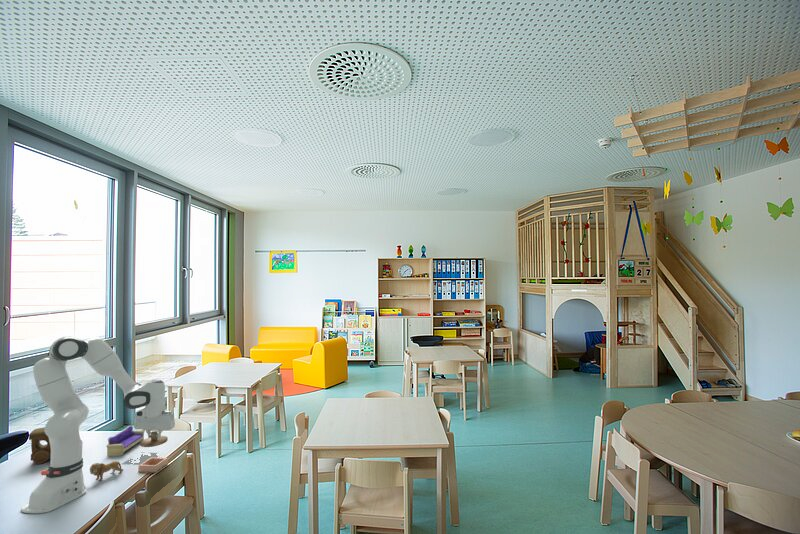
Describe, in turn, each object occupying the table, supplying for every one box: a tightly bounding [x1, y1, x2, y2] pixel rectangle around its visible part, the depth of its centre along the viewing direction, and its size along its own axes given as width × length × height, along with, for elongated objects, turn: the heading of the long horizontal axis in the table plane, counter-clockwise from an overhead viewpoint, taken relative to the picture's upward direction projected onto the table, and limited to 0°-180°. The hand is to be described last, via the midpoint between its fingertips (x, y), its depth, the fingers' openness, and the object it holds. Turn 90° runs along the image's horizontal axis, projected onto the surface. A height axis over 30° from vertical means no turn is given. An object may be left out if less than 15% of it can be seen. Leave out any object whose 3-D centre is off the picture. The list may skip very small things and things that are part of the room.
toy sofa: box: [106, 425, 146, 457], centre depth 224 cm, size 21×9×10 cm, turn 3°
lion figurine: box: [89, 460, 124, 482], centre depth 191 cm, size 15×5×9 cm, turn 153°
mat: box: [121, 452, 159, 466], centre depth 210 cm, size 14×14×1 cm
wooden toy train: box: [28, 426, 51, 465], centre depth 211 cm, size 20×11×17 cm, turn 119°
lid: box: [139, 430, 169, 448], centre depth 200 cm, size 12×12×5 cm
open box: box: [137, 457, 169, 474], centre depth 199 cm, size 9×9×4 cm
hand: (154, 437), depth 200 cm, fingers closed on lid, 3 cm apart
